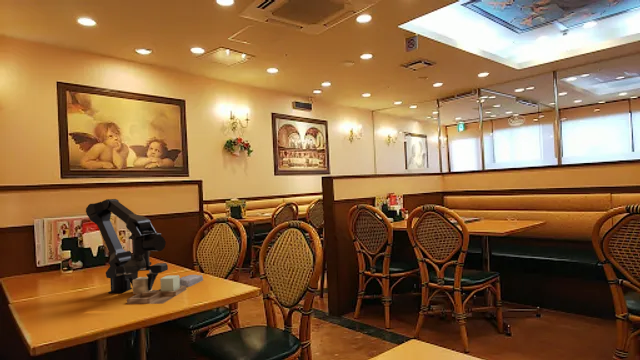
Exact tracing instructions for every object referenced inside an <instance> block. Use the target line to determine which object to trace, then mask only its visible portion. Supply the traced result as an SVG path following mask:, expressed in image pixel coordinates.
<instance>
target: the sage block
mask: <svg viewBox="0 0 640 360" xmlns="http://www.w3.org/2000/svg"><path fill="white" fill-rule="evenodd" d="M179 278H180V275H179V274H177V275H176V274H175V275H173V274H172V275H165V276H163V277H160V289H161V291H175V290H177V289H179V288H180V280H179Z"/></svg>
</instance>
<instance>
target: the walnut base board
mask: <svg viewBox="0 0 640 360" xmlns="http://www.w3.org/2000/svg"><path fill="white" fill-rule="evenodd" d="M186 290H187V287H186V286H180V288H179V289H177V290H175V291H161V288H159V289H152V290H151V291H149V292H140V293H138V294H135V295H132V296H131V297H128V298H127V299H126V303H125V305H151V304H152V305H155V304H156V305H157V304H158V305H160V304H165V303H166V302H168V301H170V300H172V299H174V297H177V296H178V295H180V294H182V293H183V292H185V291H186Z"/></svg>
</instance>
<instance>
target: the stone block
mask: <svg viewBox="0 0 640 360" xmlns="http://www.w3.org/2000/svg"><path fill="white" fill-rule="evenodd" d="M179 280H180V286H186V288H189V287H192V286H195V285H196V284H199V283H200V282H202V281H204V277H203V275H202V274H201V275H199V274H198V275H197V274H188V275H185V276H182V277H179Z"/></svg>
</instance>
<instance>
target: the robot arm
mask: <svg viewBox="0 0 640 360" xmlns="http://www.w3.org/2000/svg"><path fill="white" fill-rule="evenodd" d="M85 213H86V216H87V217H88V219H89V221H90V222H93V223H94V224H95V225H96V226H97V227H98V231H99V233H100V235H101V237H102V239H103V241H104V243H105V245H106V247H107V250H108V252H109V255H110V257H109V261H108V264H109V267H108V268H107V269H106V272H105V277H106V279H110V290H109V291H108V292H107V293H108V294H123V293H126V292H128V291H130V290H133V281H132V280H134V279H136V278H139V272H141V271H142V272H147V271H148V272H149V273H145V275H146V277H148V289H149V292H150V290H151V289H152V290H153V286H154V284H155V282H156V279H157V276H158V275H159V274H161V273H163V272H166V271H168V270H169V268H168V267H169V265H168V264H167V263H166V262H157V263H155V264H152V261H150V255H152V252H161V251H163V250H164V249H165V248H166V240H165V238H164V237H163V236H162V233H160V232H157V231H156V229H155V227H154V226H153V224H152V222H151V220H150V218H148V217H145V216H144V215H140V214H136V213H134V212H133V211H132V210H131V209H129V208H128V207H127V206H125V205H123V204H122V203H121V202H120V201H119V200H118V199H116V198H108V199H104V200H102V201H99V202H95V203H93V202H92V203H89V204H88V205H87V206H86V208H85ZM112 214H113V215H115V216H116V217H117V218H118V219H120V220H121V221H122V222H124V224H125V226H126V229H127V230H128V231H129V232H130V233H131V235H129V237H128V240H132V252H131V251H130V250H127V251H126V250H125V249H124V248H123V245H122V243H121V241H120V239H119V237H118V234H117V233H116V231H115V228H114V226H113V224H112V222H111V217H112ZM152 290H151V291H152Z"/></svg>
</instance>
